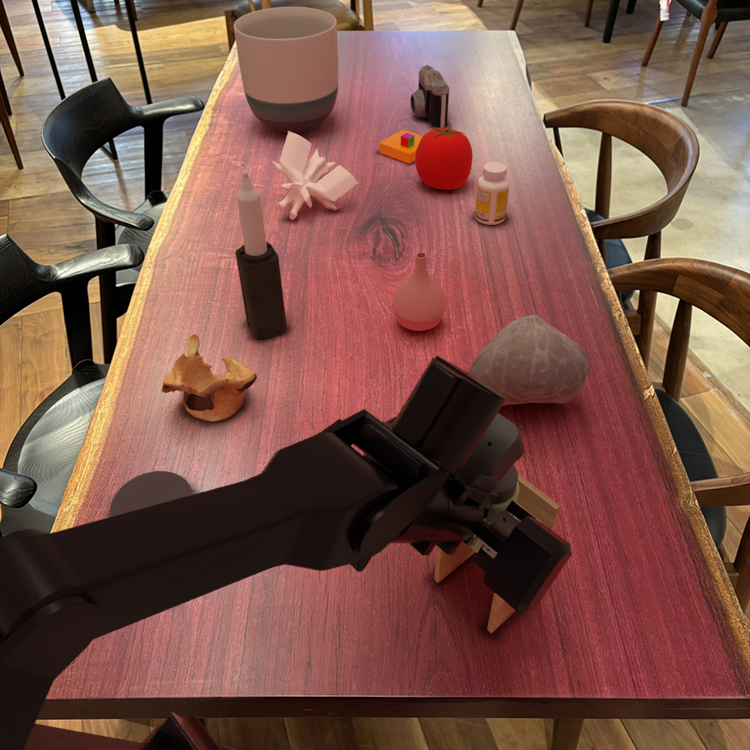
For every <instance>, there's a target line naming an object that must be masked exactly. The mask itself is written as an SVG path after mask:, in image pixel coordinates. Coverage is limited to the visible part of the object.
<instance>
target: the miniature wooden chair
mask: <svg viewBox="0 0 750 750" xmlns="http://www.w3.org/2000/svg"><path fill="white" fill-rule="evenodd" d="M518 483H519V494H518V499H517V504H518V505H519V506H521V507H522V508H523V509H525V510H526V511H527V512H529V513H530V514H531V515H532V516H534V517H535V518H536V519H537V520H538V521H540V522H542V523H543V524H545V525H546V526H547V527H549V528H550V529H551V530H553V531H554V530H555V527H556V523H557V519H558V516H559V512H560V508H561V505H560V504H558V503H557V502H556V501H555V500H553V499H552V498H551V497H549V496H548V495H547V494H545V492H542V491H541V490H540V489H539V488H537V487H536V486H535V485H534V484H532V483H531V482H530V481H528V480H527V479H525V478H524V477H523V476H521V475H520V474H519V473H518ZM554 532H555V531H554ZM477 552H478V551H477V550H474V549H472V548H470V547H469V546H467V545H466V544H465V543H463V542H461V543H460V545H459V546H458V548H457V549H456V551H455V552H454V554H453V555H447V554H446V553H445V552H444V551H442V550H441V549H440V548H439V547H438V546H437V545H436V555H435V568H434V579H433V580H434V581H435V582H436V583H438V584H439V583H440V582H442V580H444V579H445V578H446V577H447V576H449V575H450V574H451V573H452V572H453V571H455V570H456V569H457V568H458V567H459V566H461V565H462V564H463V563H464V562H465V561H467V560H468V559H469V558H470V557H471V556H473V555H474V554H475V553H477ZM515 612H517V611H516V610H514V609H513V608H512V607H511V606H510V605H509V604H507V603H506V602H505V601H504V600H503V599H502V598H500V597H499V596H498V595H497V594H496V593H495V592H493V598H492V602H491V608H490V613H489V616H488V617H489V618H488V623H487V627H486V630H487V631H488V632H489V633H490V634H493V632H495V631H496V630H497V629H498V628H499V627H500V626H501V625H502V624H504V623H505V622H506V620H508V619H509V618H510V617H511V616H512V615H513V614H514V613H515Z"/></svg>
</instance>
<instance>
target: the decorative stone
mask: <svg viewBox="0 0 750 750" xmlns="http://www.w3.org/2000/svg"><path fill="white" fill-rule="evenodd" d="M587 355H588V354H587V352H586V351H585V350H584V348H582V347H581V346H580V345H579V344H578V343H576V342H575V341H574V340H573V339H571V338H570V337H568V336H567V335H565V334H564V332H562V331H560V330H559V329H557V328H555V327H554V326H553V325H551V324H549V323H548V322H546V320H544V319H543V318H542V317H541V316H540V315H538V314H530V315H524V316H520V317H518V318H516V319H514V320H513V321H511V322H510V323H508V324H507V325H505V326H504V327H503V328H502V329H501V330H499V332H497V333H496V334H495V335H494V336H493V337H492V338H491V339H490V341H489V342H488V343H487V345H485V346H484V347H483V348H482V349H480V351H479V352H478V353H477V354H476V356H475V358H474V360H473V361H472V363H471V364H470V368H469V370H468V373H469V374H471V375H473V376H474V377H476V378H478V379H479V380H481V381H482V382H484V383H486V384H487V385H489V386H490V387H492V388H493V389H495V390H496V391H498V392H499V393H501V394H502V395H503V396H505V397H506V398H507V399H506V400H505V402H504V404H503V405H502V407H503V406H508V405H520V404H522V405H523V404H528V403H530V404H531V403H532V404H551V403H554V404H559V405H564V404H567V403H569V402H570V401H572V400H573V399H574V398H575V396H576V395H578V393H579V392H580V391H581V390H582V388H583V386H584V385H585V383H586V380H587V378H588V374H589V372H590V366H589V365H590V364H589V360H588V359H589V357H588V356H587Z"/></svg>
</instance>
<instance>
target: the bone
mask: <svg viewBox="0 0 750 750" xmlns="http://www.w3.org/2000/svg"><path fill="white" fill-rule="evenodd" d="M186 341H187V355H186V354H185V353H181V354H180V356H178V357H177V359H176V360H175V361H174V363H173V367H172V368H171V371H170V372H169V373H168V374H165V375H164V379H163V381H162V387H161V393H165V394H168V393H171V392H172V393H174V392H181V393H183V394H182V395H183V396H182V403H183V406H184V409H185V411H186V412H187V414H190V415H192V417H193V418H195V419H196V420H200V421H205V424H208V422H209V423H217V422H222V421H225V420H228V419H230V418H231V417H233V416H235V415H236V414H237V413H238V412H240V411H241V410H242V409H243V408H244V407H245V404H246V402H247V398H246V397H247V395H246V394H245V390H248V389H249V388H251V387H252V386H253V385H254V383H256V381H257V379H258V376H257V374H258V373H256V372H255V371H252V370H251V369H249V368H247V367H246V366H245V365H244V364H243V363H241V362H240V361H238V360H236V359H235V358H233V357H223V358H222V361H223V362H224V365H225V369H226V371H227V372H225V375H218V374H213V373H212V370H211V368H212V367H213V365H211V364H207V363H206V362H204V360H203V359H204V358H203V356H202V355H200V352H199V348H200V345H201V344H200V337H199V336H198V335H197V334H195V333H193V334H192V335H190V336H188V337H187V338H186ZM190 394H193V395H196V396H199V397H200V398H207V400H210V402H212V403H213V404H212V405H213V409H209V408H206V410H193V409H191V408H189V405H188V404H187V403H186V402H187V401H188V396H189V395H190Z"/></svg>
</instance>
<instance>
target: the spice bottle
mask: <svg viewBox="0 0 750 750" xmlns="http://www.w3.org/2000/svg"><path fill="white" fill-rule="evenodd" d="M518 474H519V473H518V470H517V468H516V467H515V464H514V465H513V466H512V467H511V468H510V469H509V471H508V472H507V473H506V474H505V475H504V477H503V478H502V479H501V480H500V481H499V482H498V484H497V485H496V487H495V488H494V490H493V491H494V492H495V493H497V494H498V495H499V496H498V498H497V499H496V501H495V502H494V504H493V505H492V507H491V509H493V510H494V511H495V512H497V513H498V512H500V511H503V510H506V508H507V507H508V505H509V504H510V502H511V501H512V500H513V501H514V502H515V503H517V499H518V494H519V483H518ZM486 519H487V518H485V519H483V520H484V521H485V522H486V523H488V524H489V525H490V522H491V521H489V522H487V521H486ZM475 536H476V535H474V536H473V538H474V537H475ZM482 545H483V543H482V542H481V541H480V539H479V538H477V541H476V543H475V544H474V546H473V547H470V548H472V549H474V550H477V551H479V549H480V548H481V546H482Z"/></svg>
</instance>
